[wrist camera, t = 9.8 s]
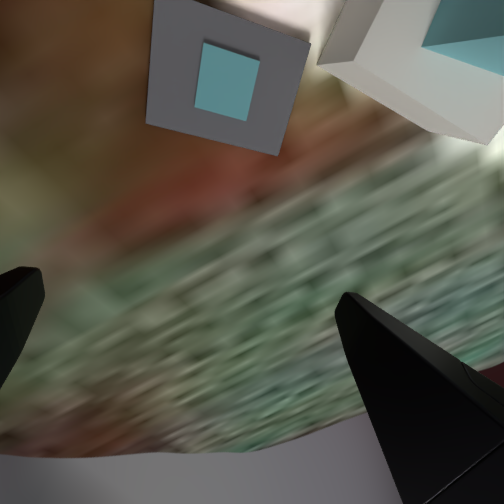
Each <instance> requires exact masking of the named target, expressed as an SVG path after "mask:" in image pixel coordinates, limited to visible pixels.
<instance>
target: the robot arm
mask: <svg viewBox="0 0 504 504" xmlns="http://www.w3.org/2000/svg"><path fill="white" fill-rule="evenodd" d="M44 298H45V290H44V284H43V279H42V273H41V271H40V269H38V268H36V267H24V266H21V267H17V268H15V269H13V270H10V271H8V272H6V273H3V274H1V275H0V389H1V387H2V385H3V384H4V382H5V380H6V378H7V377H8V375H9V373H10V372H11V370H12V368H13V366H14V365H15V363H16V361H17V359H18V357H19V356H20V354H21V352H22V350H23V348H24V345H25V343H26V341H27V339H28V336H29V334H30V332H31V329H32V327H33V325H34V322H35V320H36V318H37V315H38V313H39V311H40V308H41V306H42V304H43V301H44ZM335 319H336V323H337V327H338V330H339V334H340V337H341V341H342V345H343V348H344V352H345V355H346V358H347V361H348V364H349V366H350V369H351V371H352V374H353V376H354V379H355V382H356V384H357V387H358V389H359V392H360V394H361V397H362V400H363V402H364V405H365V407H366V410H367V412H368V415H369V418H370V420H371V423H372V425H373V428H374V430H375V433H376V436H377V438H378V441H379V443H380V446H381V448H382V451H383V454H384V456H385V459H386V461H387V464H388V466H389V469H390V471H391V474H392V477H393V479H394V482H395V484H396V487H397V490H398V492H399V495H400V497H401V500H402V502H403V504H504V388H503V387H501V386H499V385H498V384H496V383H495V382H493V381H491V380H490V379H488V378H487V377H485V376H484V375H482V374H480V373H479V372H477V371H476V370H474V369H473V368H471V367H470V366H468V365H467V364H465V363H464V362H460V360H459V359H457V358H456V357H454V356H453V355H451V354H450V353H448V352H447V351H445V350H443V349H442V348H440V347H439V346H437V345H436V344H434V343H433V342H431V341H430V340H428V339H427V338H425V337H424V336H422V335H420V334H419V333H417V332H416V331H414V330H413V329H411V328H410V327H408V326H407V325H405V324H404V323H402V322H401V321H399V320H398V319H396V318H394V317H393V316H391V315H390V314H388V313H387V312H385V311H384V310H382V309H381V308H379V307H378V306H376V305H375V304H373V303H371V302H370V301H368V300H367V299H365V298H364V297H362V296H361V295H359V294H358V293H354V292H345V293H344V294H343V295H342V297H341V299H340V301H339V303H338V305H337V307H336V309H335Z"/></svg>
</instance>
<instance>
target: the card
mask: <svg viewBox="0 0 504 504" xmlns="http://www.w3.org/2000/svg"><path fill="white" fill-rule="evenodd" d="M310 46H311V43H308V42H305V41H302V40H300V39H297V38H294V37H291V36H289V35H286V34H283V33H281V32H278V31H275V30H272V29H270V28H267V27H264V26H262V25H259V24H256V23H253V22H251V21H248V20H245V19H242V18H240V17H237V16H234V15H232V14H229V13H226V12H223V11H221V10H218V9H215V8H212V7H210V6H207V5H204V4H202V3H199V2H196V1H193V0H154V14H153V28H152V42H151V56H150V70H149V84H148V98H147V112H146V124H150V125H154V126H158V127H162V128H166V129H170V130H174V131H178V132H182V133H186V134H190V135H195V136H199V137H203V138H207V139H211V140H215V141H219V142H223V143H227V144H231V145H235V146H239V147H243V148H247V149H251V150H255V151H259V152H263V153H267V154H271V155H275V156H278V154H279V151H280V147H281V144H282V141H283V137H284V134H285V131H286V127H287V124H288V120H289V117H290V114H291V110H292V107H293V104H294V100H295V97H296V94H297V90H298V87H299V83H300V80H301V77H302V73H303V70H304V67H305V63H306V60H307V57H308V53H309V50H310Z"/></svg>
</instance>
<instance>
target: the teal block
mask: <svg viewBox="0 0 504 504" xmlns="http://www.w3.org/2000/svg"><path fill="white" fill-rule="evenodd" d="M421 47H422V48H425V49H427V50H430V51H433V52H436V53H439V54H442V55H445V56H448V57H450V58H453V59H456V60H459V61H462V62H465V63H468V64H470V65H473V66H476V67H479V68H482V69H485V70H488V71H491V72H493V73H496V74H499V75H502V76H504V0H441V1H440V4H439V6H438V8H437V11H436V13H435V15H434V18H433V20H432V23H431V25H430V27H429V30H428V32H427V34H426V37H425V39H424V41H423V44H422V46H421Z"/></svg>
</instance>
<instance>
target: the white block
mask: <svg viewBox="0 0 504 504" xmlns="http://www.w3.org/2000/svg"><path fill="white" fill-rule="evenodd" d="M440 1H441V0H346V2H345V4H344V7H343V9H342V11H341V13H340V15H339V17H338V20H337V22H336V24H335V26H334V28H333V31H332V33H331V35H330V37H329V39H328V41H327V44H326V46H325V48H324V50H323V52H322V55H321V57H320V59H319V61H318V63H317V66H319V67H320V68H322V69H324V70H325V71H327V72H329V73H330V74H332V75H334V76H336V77H337V78H339V79H341V80H342V81H344V82H346V83H347V84H349V85H351V86H352V87H354V88H356V89H358V90H359V91H361V92H363V93H364V94H366V95H368V96H369V97H371V98H373V99H374V100H376V101H378V102H380V103H381V104H383V105H385V106H386V107H388V108H390V109H391V110H393V111H395V112H396V113H398V114H400V115H401V116H403V117H405V118H407V119H408V120H410V121H412V122H413V123H415V124H417V125H418V126H420V127H422V128H423V129H425V130H427V131H429V132H434V133H438V134H442V135H446V136H450V137H455V138H459V139H463V140H467V141H471V142H476V143H480V144H484V145H488V144H489V143H490V142H491V140H492V139H493V138H494V136H495V135H496V134H497V133H498V131H499V130H500V129H501V128H502V126H503V125H504V76H502V75H499V74H496V73H493V72H491V71H488V70H485V69H482V68H479V67H476V66H473V65H470V64H468V63H465V62H462V61H459V60H456V59H453V58H450V57H448V56H445V55H442V54H439V53H436V52H433V51H430V50H427V49H425V48H422V47H421V46H422V44H423V41H424V39H425V37H426V34H427V32H428V30H429V27H430V25H431V23H432V20H433V18H434V15H435V13H436V11H437V8H438V6H439V4H440Z"/></svg>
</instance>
